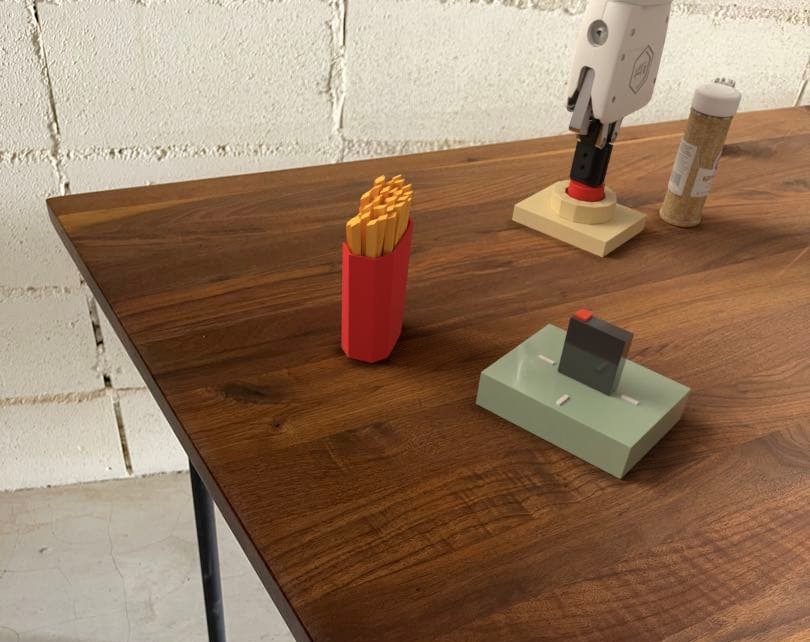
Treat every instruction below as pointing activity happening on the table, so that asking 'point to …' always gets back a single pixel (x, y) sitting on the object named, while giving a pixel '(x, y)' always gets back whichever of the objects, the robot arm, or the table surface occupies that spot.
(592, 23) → the robot arm
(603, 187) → the power button
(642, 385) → the green flat block
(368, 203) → the french fries
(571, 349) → the red-topped dark block
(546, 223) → the switch block
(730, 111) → the spice jar
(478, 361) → the table surface
